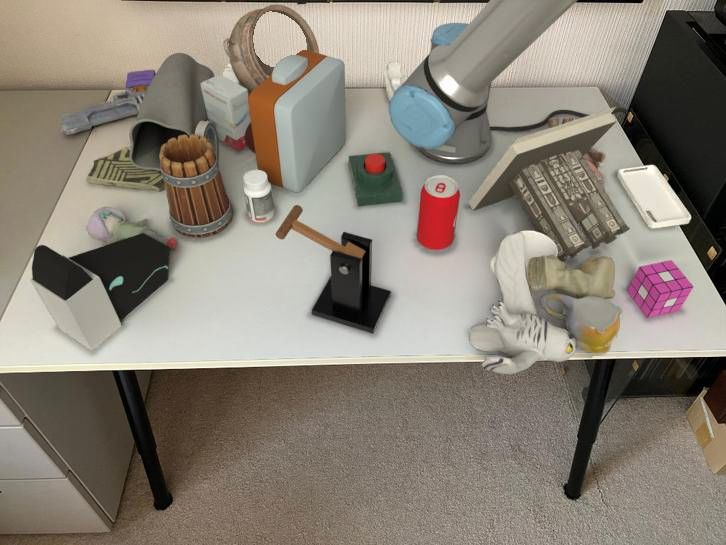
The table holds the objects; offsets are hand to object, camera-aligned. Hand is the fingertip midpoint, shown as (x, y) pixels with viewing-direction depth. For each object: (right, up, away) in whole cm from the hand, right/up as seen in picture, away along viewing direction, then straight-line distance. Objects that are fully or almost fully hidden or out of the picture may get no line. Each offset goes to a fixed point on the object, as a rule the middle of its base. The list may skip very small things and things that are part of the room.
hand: (301, 0), depth 104 cm
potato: (-6, -21, +16) cm, 27 cm away
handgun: (-46, -4, +31) cm, 56 cm away
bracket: (+9, -50, -7) cm, 52 cm away
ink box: (-16, -18, +22) cm, 32 cm away
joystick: (+16, -4, +30) cm, 34 cm away
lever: (+4, -41, -15) cm, 44 cm away
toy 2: (+27, -48, -19) cm, 59 cm away
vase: (-27, -3, +29) cm, 39 cm away
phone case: (+64, -37, +4) cm, 74 cm away
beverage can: (+22, -40, +3) cm, 46 cm away
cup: (+35, -46, -3) cm, 58 cm away
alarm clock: (-1, -24, +16) cm, 29 cm away
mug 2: (+41, -49, -16) cm, 66 cm away
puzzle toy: (+56, -50, -6) cm, 75 cm away
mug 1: (-17, -34, +7) cm, 39 cm away
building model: (+40, -26, +2) cm, 47 cm away
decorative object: (-27, -50, -7) cm, 57 cm away
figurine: (+51, -24, +17) cm, 59 cm away
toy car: (-17, -5, +34) cm, 38 cm away
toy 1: (-21, -42, -1) cm, 47 cm away
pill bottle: (-8, -35, +7) cm, 36 cm away
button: (+12, -26, +10) cm, 31 cm away
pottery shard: (-33, -28, +12) cm, 46 cm away
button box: (+12, -29, +13) cm, 34 cm away
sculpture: (+48, -46, -7) cm, 67 cm away
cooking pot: (-14, 0, +31) cm, 34 cm away
